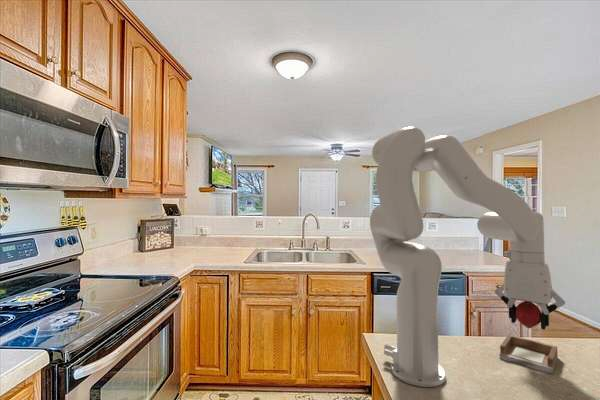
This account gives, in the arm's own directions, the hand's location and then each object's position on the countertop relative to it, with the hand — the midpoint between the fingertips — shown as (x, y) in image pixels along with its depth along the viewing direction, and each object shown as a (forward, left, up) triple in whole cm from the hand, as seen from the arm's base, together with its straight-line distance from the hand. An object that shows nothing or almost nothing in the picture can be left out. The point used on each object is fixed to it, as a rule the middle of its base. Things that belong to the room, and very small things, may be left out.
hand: (528, 323), depth 82 cm
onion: (0, 0, -1) cm, 1 cm away
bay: (0, 0, -9) cm, 9 cm away
